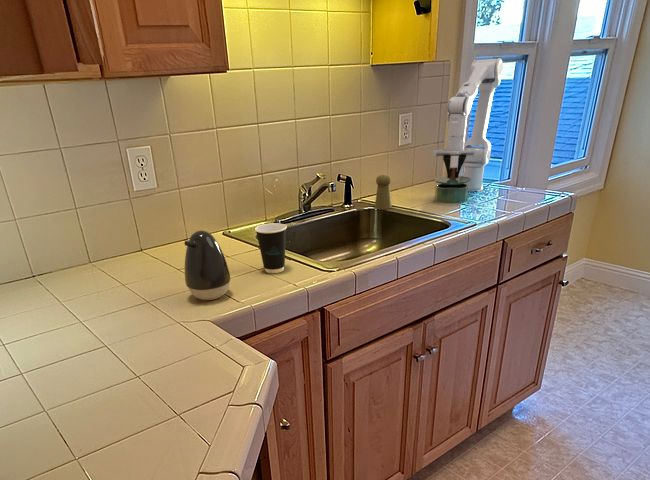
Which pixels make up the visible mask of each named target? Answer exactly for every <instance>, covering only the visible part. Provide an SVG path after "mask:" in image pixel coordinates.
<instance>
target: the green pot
mask: <svg viewBox="0 0 650 480" xmlns="http://www.w3.org/2000/svg"><path fill="white" fill-rule="evenodd" d="M447 187H455V188H457V189H446V188H447ZM468 188H469V185H468V184H459V185H445V184H441V183H437V184H435V187H434V191H435V192H434V201H435V202H436V203H440V204H449V205H450V204H461V203H465V202H467V201H468V197H469V196H468V195H469V191H468Z"/></svg>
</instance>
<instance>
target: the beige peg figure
mask: <svg viewBox="0 0 650 480" xmlns="http://www.w3.org/2000/svg"><path fill="white" fill-rule="evenodd" d="M375 182H376V184H377V187H376V193H375V194H376V195H375V202H374V209H377V210H389V209H391V208H392V207H393V205H392V197H391V196H392V195H391V187H390V185H391V183H392V177H391V176H390V175H389V174H381V175H377V177H376V179H375Z"/></svg>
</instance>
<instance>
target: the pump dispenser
mask: <svg viewBox="0 0 650 480" xmlns="http://www.w3.org/2000/svg"><path fill="white" fill-rule="evenodd" d="M183 244H184V246H186V250H185V255H184V282H185V286H186V287H187V288H188V290H189V292H190V294H192V295H193V296H194V297H195V298H196V299H199V300H202V301H214V300H217V299H220V298H222V297H223V296H224V295H225V294H226V293H227V291H228V290H229V288H230V282H231V280H232V279H231V273H230V269H229V264H228V262H227V260H226V256H225V255H224V252H223V250H222V248H221V246H220V244H219V243H218V241H217V239H216V238H215V236H213V234H211V233H210V232H209V231H206V230H201V229H200V230H197V231H195V232H193V233H192V234H191V235H190V237H189V239H188V240H185V241H184V242H183Z"/></svg>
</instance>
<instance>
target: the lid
mask: <svg viewBox="0 0 650 480" xmlns="http://www.w3.org/2000/svg"><path fill="white" fill-rule="evenodd" d="M457 169H458V166H450V177H449V178H447V175H446V176H439V177H436V178H434V182H435V183H437V184H445V185H459V184H464V183H468V182H470V181H471V179H470V178H468V177H464V175H459V176H458V178H456V175H457Z"/></svg>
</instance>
